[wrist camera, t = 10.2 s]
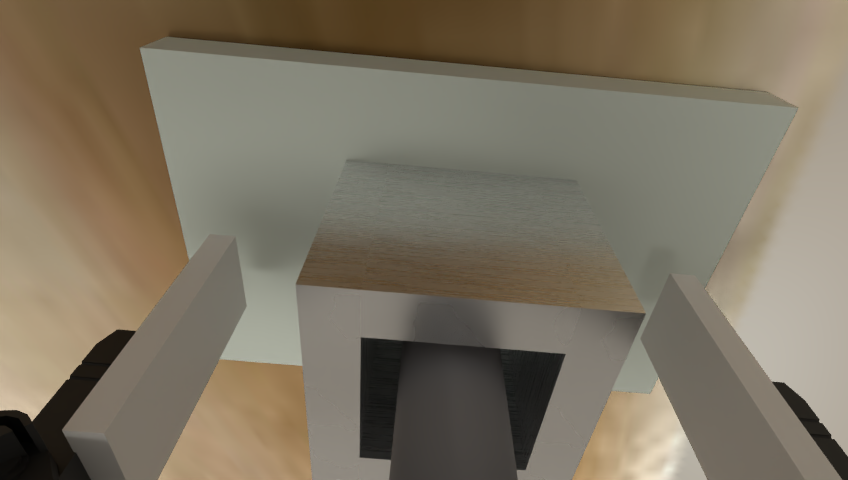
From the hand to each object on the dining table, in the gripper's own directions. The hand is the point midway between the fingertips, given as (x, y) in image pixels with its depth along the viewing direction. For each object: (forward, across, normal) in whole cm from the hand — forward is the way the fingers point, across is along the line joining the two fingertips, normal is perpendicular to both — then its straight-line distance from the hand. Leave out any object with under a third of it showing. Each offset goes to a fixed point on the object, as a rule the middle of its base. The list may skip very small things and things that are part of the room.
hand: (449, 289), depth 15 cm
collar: (+2, 0, 0) cm, 2 cm away
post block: (+3, 0, 0) cm, 3 cm away
